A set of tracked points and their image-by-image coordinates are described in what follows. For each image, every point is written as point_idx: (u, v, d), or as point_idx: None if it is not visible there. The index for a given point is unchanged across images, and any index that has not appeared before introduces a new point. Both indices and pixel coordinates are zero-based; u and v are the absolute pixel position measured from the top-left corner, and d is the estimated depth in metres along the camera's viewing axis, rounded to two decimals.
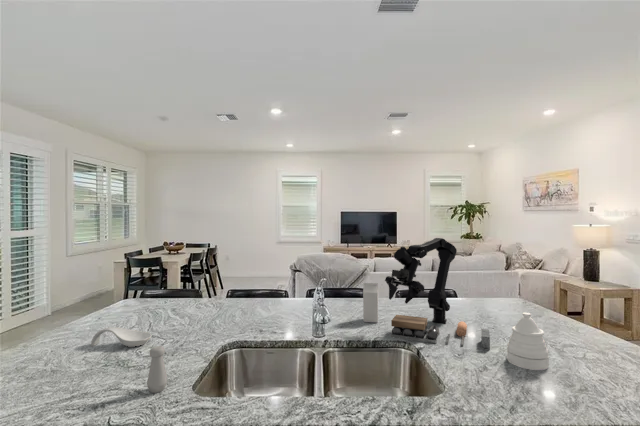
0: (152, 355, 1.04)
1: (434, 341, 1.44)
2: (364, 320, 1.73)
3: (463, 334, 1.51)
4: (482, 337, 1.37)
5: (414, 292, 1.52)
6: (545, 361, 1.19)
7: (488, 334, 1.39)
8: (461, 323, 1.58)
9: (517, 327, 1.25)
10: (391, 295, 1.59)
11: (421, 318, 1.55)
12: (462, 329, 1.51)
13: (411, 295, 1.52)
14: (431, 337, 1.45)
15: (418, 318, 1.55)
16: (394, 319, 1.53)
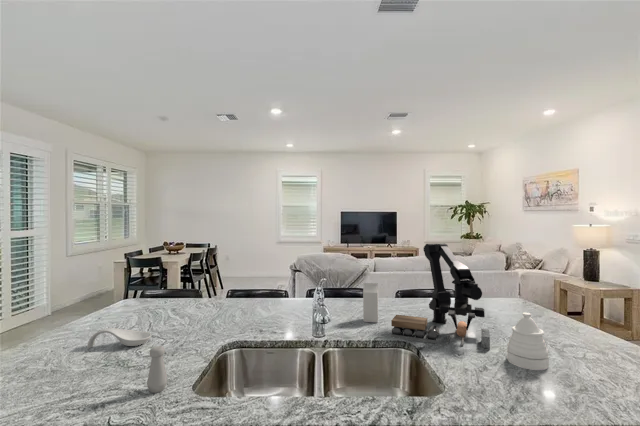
0: (152, 355, 1.04)
1: (434, 341, 1.44)
2: (364, 320, 1.73)
3: (463, 334, 1.51)
4: (482, 337, 1.37)
5: None
6: (545, 361, 1.19)
7: (488, 334, 1.39)
8: (461, 323, 1.58)
9: (517, 327, 1.25)
10: (456, 324, 1.57)
11: (421, 318, 1.55)
12: (462, 329, 1.51)
13: None
14: (431, 337, 1.45)
15: (418, 318, 1.55)
16: (394, 319, 1.53)
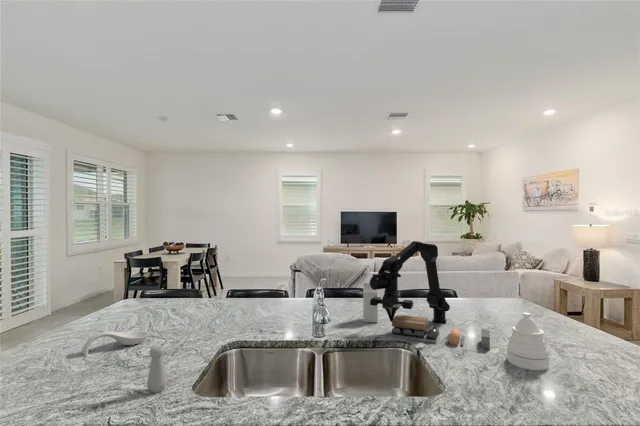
0: (152, 355, 1.04)
1: (434, 341, 1.44)
2: (364, 320, 1.73)
3: (456, 342, 1.41)
4: (482, 337, 1.37)
5: None
6: (545, 361, 1.19)
7: (488, 334, 1.39)
8: (453, 330, 1.48)
9: (517, 327, 1.25)
10: None
11: (422, 318, 1.55)
12: (454, 337, 1.41)
13: (394, 312, 1.57)
14: (431, 337, 1.45)
15: (418, 318, 1.55)
16: (394, 319, 1.53)
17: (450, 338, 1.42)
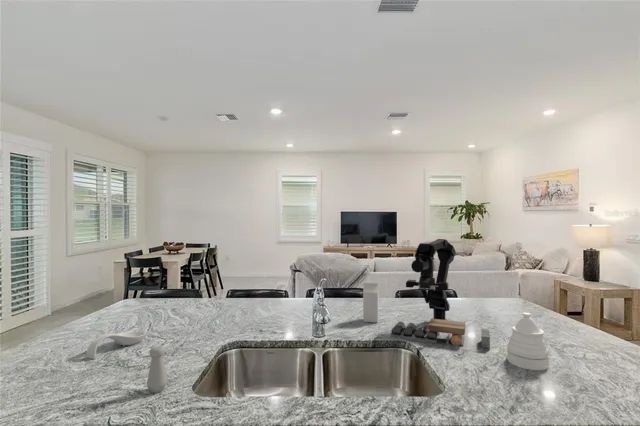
0: (152, 355, 1.04)
1: (434, 341, 1.44)
2: (364, 320, 1.73)
3: (457, 343, 1.41)
4: (482, 337, 1.37)
5: None
6: (545, 361, 1.19)
7: (488, 334, 1.39)
8: None
9: (517, 327, 1.25)
10: None
11: (459, 322, 1.48)
12: (458, 338, 1.41)
13: (430, 294, 1.62)
14: (431, 337, 1.45)
15: (456, 322, 1.49)
16: (431, 324, 1.47)
17: (453, 337, 1.42)
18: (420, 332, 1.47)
